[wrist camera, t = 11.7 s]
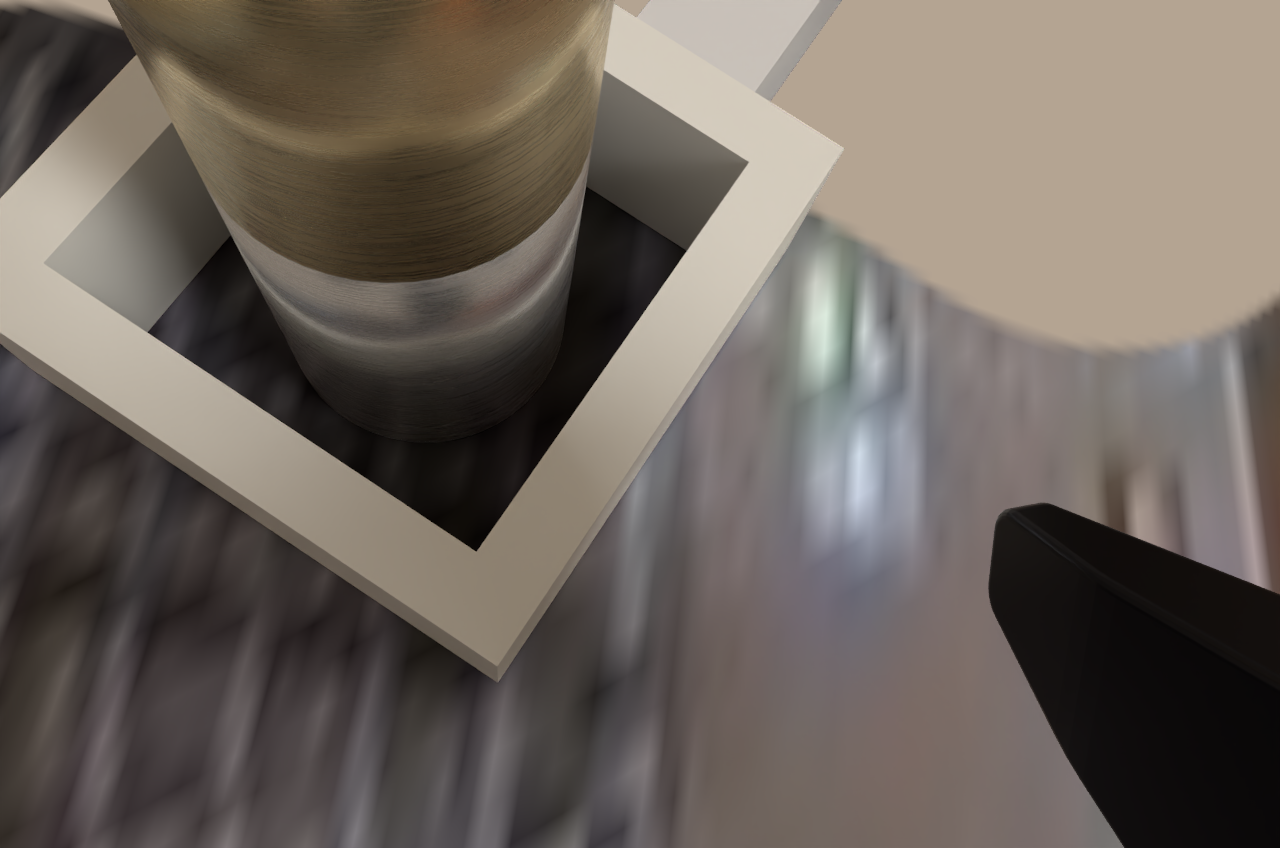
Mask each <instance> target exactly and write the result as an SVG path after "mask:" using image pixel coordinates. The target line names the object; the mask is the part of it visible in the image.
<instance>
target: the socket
mask: <svg viewBox="0 0 1280 848" xmlns="http://www.w3.org/2000/svg"><path fill="white" fill-rule="evenodd" d="M841 1H842V0H650V1H649V2H648V3H647V5H646V6H645V7H644V8H643V10H642V11H641V12H640V14H639V15H638V16H637V17H635V16H633V15H632V14H630V13H629V12H627V11H626V10H624V9H622V8H621V7H619V6H618V5H616V4H614V6H613V13H612V19H611V26H610V32H609V39H608V45H607V52H606V58H605V65H604V71H603V78H602V84H601V91H600V97H599V104H598V110H597V117H596V123H595V130H594V136H593V143H592V149H591V156H590V162H589V169H588V175H587V182H586V186H587V187H588V188H590V189H591V190H593V191H594V192H596V193H598V194H599V195H601V196H602V197H604V198H605V199H607V200H608V201H610V202H612V203H613V204H615V205H616V206H618V207H619V208H621V209H622V210H624V211H626V212H627V213H629V214H630V215H632V216H633V217H635V218H636V219H638V220H640V221H641V222H643V223H644V224H646V225H647V226H649V227H650V228H652V229H654V230H655V231H657V232H658V233H660V234H661V235H663V236H665V237H666V238H668V239H669V240H671V241H672V242H674V243H675V244H677V245H679V246H680V247H682V248H683V249H685V250H686V251H687V252H686V253H685V255H684V256H683V257H682V259H681V260H680V262H679V263H678V265H677V266H676V267H675V269H674V270H673V272H672V273H671V275H670V276H669V277H668V279H667V280H666V282H665V283H664V285H663V286H662V287H661V289H660V290H659V292H658V293H657V295H656V296H655V297H654V299H653V300H652V302H651V303H650V305H649V306H648V307H647V309H646V310H645V312H644V313H643V315H642V316H641V317H640V319H639V320H638V322H637V323H636V325H635V326H634V327H633V329H632V330H631V332H630V333H629V335H628V336H627V337H626V339H625V340H624V342H623V343H622V345H621V346H620V347H619V349H618V350H617V352H616V353H615V355H614V356H613V357H612V359H611V360H610V362H609V363H608V365H607V366H606V367H605V369H604V370H603V372H602V373H601V375H600V376H599V377H598V379H597V380H596V382H595V383H594V385H593V386H592V388H591V389H590V390H589V392H588V393H587V395H586V396H585V398H584V399H583V400H582V402H581V403H580V405H579V406H578V408H577V409H576V410H575V412H574V413H573V415H572V416H571V418H570V419H569V420H568V422H567V423H566V425H565V426H564V428H563V429H562V430H561V432H560V433H559V435H558V436H557V438H556V439H555V440H554V442H553V443H552V445H551V446H550V448H549V449H548V450H547V452H546V453H545V455H544V456H543V458H542V459H541V460H540V462H539V463H538V465H537V466H536V468H535V469H534V470H533V472H532V473H531V475H530V476H529V478H528V479H527V480H526V482H525V483H524V485H523V486H522V488H521V489H520V490H519V492H518V493H517V495H516V496H515V498H514V499H513V500H512V502H511V503H510V505H509V506H508V508H507V509H506V510H505V512H504V513H503V515H502V516H501V518H500V519H499V520H498V522H497V523H496V525H495V526H494V528H493V529H492V530H491V532H490V533H489V535H488V536H487V538H486V539H485V540H484V542H483V543H482V545H481V546H480V548H479V549H478V550H477V552H476V551H474V550H473V549H471V548H470V547H468V546H467V545H465V544H464V543H462V542H461V541H459V540H458V539H456V538H455V537H453V536H452V535H450V534H449V533H447V532H446V531H444V530H443V529H441V528H440V527H438V526H437V525H435V524H434V523H432V522H431V521H429V520H428V519H426V518H425V517H423V516H422V515H420V514H419V513H417V512H416V511H414V510H413V509H411V508H410V507H408V506H407V505H405V504H404V503H402V502H401V501H399V500H398V499H396V498H395V497H393V496H392V495H390V494H389V493H387V492H386V491H384V490H383V489H381V488H380V487H378V486H377V485H375V484H374V483H372V482H371V481H369V480H368V479H366V478H365V477H363V476H362V475H360V474H359V473H357V472H356V471H354V470H353V469H351V468H350V467H348V466H347V465H345V464H344V463H342V462H341V461H339V460H338V459H336V458H335V457H333V456H332V455H330V454H329V453H327V452H326V451H324V450H323V449H321V448H320V447H318V446H317V445H315V444H314V443H312V442H311V441H309V440H308V439H306V438H305V437H303V436H302V435H300V434H299V433H297V432H296V431H294V430H293V429H291V428H290V427H288V426H287V425H285V424H284V423H282V422H281V421H279V420H278V419H276V418H275V417H273V416H272V415H270V414H269V413H267V412H266V411H264V410H263V409H261V408H260V407H258V406H257V405H255V404H254V403H252V402H251V401H249V400H248V399H246V398H245V397H243V396H242V395H240V394H239V393H237V392H236V391H234V390H233V389H231V388H230V387H228V386H227V385H225V384H224V383H222V382H221V381H219V380H218V379H216V378H215V377H213V376H212V375H210V374H209V373H207V372H206V371H204V370H203V369H201V368H200V367H198V366H197V365H195V364H194V363H192V362H191V361H189V360H188V359H186V358H185V357H183V356H182V355H180V354H179V353H177V352H176V351H174V350H173V349H171V348H170V347H168V346H167V345H165V344H164V343H162V342H161V341H159V340H158V339H156V338H155V337H153V336H152V335H150V334H149V333H147V332H148V331H149V330H150V329H151V327H152V326H153V325H154V324H155V323H156V322H157V320H158V319H159V318H160V317H161V316H162V315H163V313H164V312H165V311H166V310H167V309H168V308H169V306H170V305H171V304H172V303H173V302H174V301H175V299H176V298H177V297H178V296H179V295H180V294H181V292H182V291H183V290H184V289H185V288H186V287H187V285H188V284H189V283H190V282H191V281H192V280H193V278H194V277H195V276H196V275H197V274H198V273H199V271H200V270H201V269H202V268H203V267H204V266H205V264H206V263H207V262H208V261H209V260H210V259H211V257H212V256H213V255H214V254H215V253H216V252H217V250H218V249H219V248H220V247H221V246H222V245H223V243H224V242H225V241H226V240H227V239H228V238H229V236H230V235H231V234H230V232H229V230H228V228H227V226H226V224H225V222H224V220H223V219H222V217H221V215H220V213H219V211H218V209H217V207H216V205H215V203H214V201H213V199H212V198H211V196H210V194H209V192H208V190H207V188H206V186H205V184H204V182H203V180H202V178H201V176H200V175H199V173H198V171H197V169H196V167H195V165H194V163H193V161H192V159H191V157H190V155H189V154H188V152H187V150H186V148H185V146H184V144H183V142H182V140H181V138H180V136H179V134H178V133H177V131H176V129H175V127H174V125H173V123H172V121H171V119H170V117H169V115H168V113H167V112H166V110H165V108H164V106H163V104H162V102H161V100H160V98H159V96H158V94H157V92H156V91H155V89H154V87H153V85H152V83H151V81H150V79H149V77H148V75H147V73H146V71H145V70H144V68H143V66H142V64H141V62H140V60H139V58H138V56H137V55H136V56H135V57H134V58H133V59H132V60H131V61H130V62H129V63H128V64H127V65H126V66H125V67H124V68H123V69H122V70H121V71H120V72H119V74H118V75H117V76H116V77H115V78H114V79H113V80H112V81H111V82H110V83H109V84H108V85H107V86H106V87H105V88H104V89H103V90H102V92H101V93H100V94H99V95H98V96H97V97H96V98H95V99H94V100H93V101H92V102H91V103H90V104H89V105H88V106H87V107H86V108H85V109H84V111H83V112H82V113H81V114H80V115H79V116H78V117H77V118H76V119H75V120H74V121H73V122H72V123H71V124H70V125H69V126H68V127H67V128H66V130H65V131H64V132H63V133H62V134H61V135H60V136H59V137H58V138H57V139H56V140H55V141H54V142H53V143H52V144H51V145H50V146H49V147H48V149H47V150H46V151H45V152H44V153H43V154H42V155H41V156H40V157H39V158H38V159H37V160H36V161H35V162H34V163H33V164H32V165H31V167H30V168H29V169H28V170H27V171H26V172H25V173H24V174H23V175H22V176H21V177H20V178H19V179H18V180H17V181H16V182H15V183H14V184H13V186H12V187H11V188H10V189H9V190H8V191H7V192H6V193H5V194H4V195H3V196H2V197H1V198H0V344H1V345H2V346H4V347H5V348H6V349H7V350H9V351H10V352H11V353H12V354H13V355H15V356H16V357H17V358H18V359H20V360H21V361H22V362H23V363H25V364H26V365H27V366H28V367H29V368H31V369H32V370H33V371H35V372H36V373H38V374H39V375H41V376H42V377H44V378H45V379H47V380H48V381H50V382H51V383H53V384H54V385H56V386H57V387H59V388H60V389H62V390H63V391H65V392H66V393H68V394H69V395H71V396H72V397H73V398H75V399H76V400H78V401H79V402H81V403H82V404H84V405H85V406H87V407H88V408H90V409H91V410H93V411H94V412H96V413H97V414H99V415H100V416H102V417H103V418H105V419H106V420H108V421H109V422H111V423H112V424H114V425H115V426H117V427H118V428H120V429H121V430H123V431H124V432H126V433H127V434H129V435H130V436H131V437H133V438H134V439H136V440H137V441H139V442H140V443H142V444H143V445H145V446H146V447H148V448H149V449H151V450H152V451H154V452H155V453H157V454H158V455H160V456H161V457H163V458H164V459H166V460H167V461H169V462H170V463H172V464H173V465H175V466H176V467H178V468H179V469H181V470H182V471H184V472H185V473H187V474H188V475H189V476H191V477H192V478H194V479H195V480H197V481H198V482H200V483H201V484H203V485H204V486H206V487H207V488H209V489H210V490H212V491H213V492H215V493H216V494H218V495H219V496H221V497H222V498H224V499H225V500H227V501H228V502H230V503H231V504H233V505H234V506H236V507H237V508H239V509H240V510H242V511H243V512H244V513H246V514H247V515H249V516H250V517H252V518H253V519H255V520H256V521H258V522H259V523H261V524H262V525H264V526H265V527H267V528H268V529H270V530H271V531H273V532H274V533H276V534H277V535H279V536H280V537H282V538H283V539H285V540H286V541H288V542H289V543H291V544H292V545H294V546H295V547H297V548H298V549H300V550H301V551H302V552H304V553H305V554H307V555H308V556H310V557H311V558H313V559H314V560H316V561H317V562H319V563H320V564H322V565H323V566H325V567H326V568H328V569H329V570H331V571H332V572H334V573H335V574H337V575H338V576H340V577H341V578H343V579H344V580H346V581H347V582H349V583H350V584H352V585H353V586H355V587H356V588H357V589H359V590H360V591H362V592H363V593H365V594H366V595H368V596H369V597H371V598H372V599H374V600H375V601H377V602H378V603H380V604H381V605H383V606H384V607H386V608H387V609H389V610H390V611H392V612H393V613H395V614H396V615H398V616H399V617H401V618H402V619H404V620H405V621H407V622H408V623H410V624H411V625H413V626H414V627H415V628H417V629H418V630H420V631H421V632H423V633H424V634H426V635H427V636H429V637H430V638H432V639H433V640H435V641H436V642H438V643H439V644H441V645H442V646H444V647H445V648H447V649H448V650H450V651H451V652H453V653H454V654H456V655H457V656H459V657H460V658H462V659H463V660H465V661H466V662H468V663H469V664H470V665H472V666H473V667H475V668H476V669H478V670H479V671H481V672H482V673H484V674H485V675H487V676H488V677H490V678H491V679H493V680H494V681H496V682H497V683H498V682H499V681H500V679H501V678H502V676H503V675H504V673H505V672H506V670H507V669H508V667H509V666H510V664H511V663H512V661H513V660H514V658H515V657H516V655H517V654H518V652H519V651H520V649H521V648H522V646H523V645H524V643H525V642H526V640H527V639H528V637H529V636H530V634H531V633H532V631H533V630H534V628H535V627H536V625H537V624H538V622H539V621H540V619H541V618H542V616H543V615H544V613H545V612H546V610H547V609H548V607H549V606H550V604H551V603H552V601H553V600H554V598H555V597H556V595H557V594H558V592H559V591H560V589H561V588H562V586H563V585H564V583H565V582H566V580H567V579H568V577H569V576H570V574H571V573H572V571H573V570H574V568H575V567H576V565H577V564H578V562H579V561H580V559H581V558H582V556H583V555H584V553H585V552H586V550H587V549H588V547H589V546H590V544H591V543H592V541H593V540H594V538H595V537H596V535H597V534H598V532H599V531H600V529H601V528H602V526H603V525H604V523H605V522H606V520H607V519H608V517H609V516H610V514H611V513H612V511H613V510H614V508H615V507H616V505H617V504H618V502H619V501H620V499H621V498H622V496H623V495H624V493H625V492H626V490H627V489H628V487H629V486H630V484H631V483H632V481H633V480H634V478H635V477H636V475H637V474H638V472H639V471H640V469H641V468H642V466H643V465H644V463H645V462H646V460H647V459H648V457H649V456H650V454H651V453H652V451H653V450H654V448H655V447H656V445H657V444H658V442H659V441H660V439H661V438H662V436H663V435H664V433H665V432H666V430H667V429H668V427H669V426H670V424H671V423H672V421H673V420H674V418H675V417H676V415H677V414H678V412H679V411H680V409H681V408H682V406H683V405H684V403H685V402H686V400H687V399H688V397H689V396H690V394H691V393H692V391H693V390H694V388H695V387H696V385H697V384H698V382H699V381H700V379H701V378H702V376H703V375H704V373H705V372H706V370H707V369H708V367H709V366H710V364H711V363H712V361H713V360H714V358H715V357H716V355H717V354H718V352H719V351H720V349H721V348H722V346H723V345H724V343H725V342H726V340H727V339H728V337H729V336H730V334H731V333H732V331H733V330H734V328H735V327H736V325H737V324H738V322H739V321H740V319H741V318H742V316H743V315H744V313H745V312H746V310H747V309H748V307H749V306H750V304H751V303H752V301H753V300H754V298H755V297H756V295H757V294H758V292H759V291H760V289H761V288H762V286H763V285H764V283H765V282H766V280H767V279H768V277H769V276H770V274H771V273H772V271H773V270H774V268H775V267H776V265H777V264H778V262H779V261H780V259H781V258H782V256H783V255H784V253H785V252H786V250H787V248H788V246H789V245H790V243H791V241H792V239H793V238H794V236H795V234H796V232H797V231H798V229H799V227H800V225H801V224H802V222H803V220H804V218H805V217H806V215H807V213H808V211H809V210H810V208H811V206H812V204H813V203H814V201H815V199H816V197H817V196H818V194H819V192H820V190H821V189H822V187H823V185H824V183H825V182H826V180H827V178H828V176H829V174H830V173H831V171H832V169H833V168H834V166H835V164H836V162H837V161H838V159H839V157H840V155H841V154H842V152H843V150H844V148H843V147H841V146H840V145H838V144H836V143H835V142H833V141H832V140H830V139H829V138H827V137H825V136H824V135H822V134H821V133H819V132H817V131H816V130H814V129H812V128H811V127H810V126H808V125H806V124H805V123H803V122H801V121H800V120H798V119H797V118H795V117H794V116H792V115H790V114H789V113H787V112H786V111H784V110H783V109H781V108H779V107H778V106H776V105H775V104H773V103H771V102H770V101H771V100H772V98H773V97H774V96H775V94H776V92H777V91H778V90H779V89H780V87H781V86H782V84H783V83H784V81H785V80H786V79H787V77H788V76H789V74H790V73H791V72H792V70H793V69H794V67H795V66H796V64H797V63H798V62H799V60H800V59H801V57H802V56H803V55H804V53H805V52H806V50H807V49H808V48H809V46H810V45H811V43H812V42H813V40H814V39H815V38H816V36H817V35H818V33H819V32H820V31H821V29H822V28H823V26H824V25H825V23H826V22H827V21H828V19H829V18H830V16H831V15H832V14H833V12H834V11H835V9H836V8H837V6H838V5H839V4H840V2H841Z"/></svg>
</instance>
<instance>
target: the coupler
mask: <svg viewBox="0 0 1280 848" xmlns="http://www.w3.org/2000/svg"><path fill="white" fill-rule="evenodd" d="M108 1H109V2H110V5H111V7H112V8H113V10H114V12H115V14H116V16H117V18H118V20H119V22H120V24H121V26H122V28H123V29H124V31H125V33H126V35H127V37H128V39H129V41H130V43H131V45H132V47H133V49H134V50H135V52H136V54H137V56H138V58H139V60H140V62H141V64H142V66H143V68H144V70H145V71H146V73H147V75H148V77H149V79H150V81H151V83H152V85H153V87H154V89H155V91H156V92H157V94H158V96H159V98H160V100H161V102H162V104H163V106H164V108H165V110H166V112H167V113H168V115H169V117H170V119H171V121H172V123H173V125H174V127H175V129H176V131H177V133H178V134H179V136H180V138H181V140H182V142H183V144H184V146H185V148H186V150H187V152H188V154H189V155H190V157H191V159H192V161H193V163H194V165H195V167H196V169H197V171H198V173H199V175H200V176H201V178H202V180H203V182H204V184H205V186H206V188H207V190H208V192H209V194H210V196H211V198H212V199H213V201H214V203H215V205H216V207H217V209H218V211H219V213H220V215H221V217H222V219H223V220H224V222H225V224H226V226H227V228H228V230H229V232H230V234H231V236H232V238H233V240H234V241H235V243H236V245H237V247H238V249H239V251H240V253H241V255H242V257H243V259H244V261H245V262H246V264H247V266H248V268H249V270H250V272H251V274H252V276H253V278H254V280H255V282H256V283H257V285H258V287H259V289H260V291H261V293H262V295H263V297H264V299H265V301H266V303H267V304H268V306H269V308H270V310H271V312H272V314H273V316H274V318H275V320H276V322H277V324H278V325H279V327H280V329H281V331H282V333H283V335H284V337H285V339H286V341H287V343H288V345H289V346H290V348H291V350H292V352H293V354H294V356H295V358H296V360H297V362H298V364H299V366H300V367H301V369H302V371H303V373H304V375H305V376H306V378H307V379H308V381H309V383H310V384H311V386H312V387H313V389H314V390H315V391H316V392H317V393H318V394H319V395H320V397H321V398H322V399H323V400H324V401H325V402H326V403H327V404H328V405H329V406H330V407H332V408H333V409H334V410H335V411H336V412H337V413H338V414H340V415H341V416H343V417H344V418H346V419H347V420H349V421H350V422H352V423H353V424H355V425H357V426H360V427H362V428H364V429H366V430H368V431H370V432H373V433H375V434H378V435H381V436H384V437H387V438H392V439H397V440H402V441H409V442H422V443H428V442H444V441H450V440H456V439H461V438H464V437H468V436H471V435H474V434H477V433H480V432H482V431H484V430H487V429H489V428H491V427H493V426H495V425H497V424H499V423H500V422H502V421H503V420H505V419H507V418H508V417H510V416H511V415H513V414H514V413H515V412H516V411H517V410H519V409H520V408H521V407H522V406H524V405H525V404H526V403H527V402H528V400H529V399H530V398H531V397H532V396H533V395H534V394H535V393H536V392H537V391H538V389H539V388H540V386H541V385H542V384H543V382H544V381H545V379H546V378H547V376H548V374H549V372H550V370H551V369H552V367H553V365H554V363H555V360H556V357H557V354H558V352H559V349H560V345H561V341H562V336H563V331H564V325H565V318H566V312H567V305H568V299H569V292H570V286H571V279H572V273H573V266H574V260H575V253H576V247H577V240H578V234H579V227H580V221H581V214H582V208H583V201H584V195H585V188H586V182H587V175H588V169H589V162H590V156H591V149H592V143H593V136H594V130H595V123H596V117H597V110H598V104H599V97H600V91H601V84H602V78H603V71H604V65H605V58H606V52H607V45H608V39H609V32H610V26H611V19H612V13H613V6H614V0H108Z"/></svg>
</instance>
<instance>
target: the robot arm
mask: <svg viewBox="0 0 1280 848" xmlns="http://www.w3.org/2000/svg"><path fill="white" fill-rule="evenodd" d="M988 589H989V598H990V603H991V607H992V610H993V612H994V615H995V617H996V619H997V621H998V623H999V625H1000V627H1001V629H1002V631H1003V633H1004V635H1005V637H1006V639H1007V641H1008V643H1009V645H1010V647H1011V649H1012V651H1013V653H1014V655H1015V657H1016V659H1017V661H1018V663H1019V665H1020V667H1021V669H1022V671H1023V673H1024V675H1025V677H1026V679H1027V681H1028V683H1029V685H1030V687H1031V689H1032V691H1033V693H1034V695H1035V697H1036V699H1037V701H1038V703H1039V705H1040V707H1041V709H1042V711H1043V713H1044V715H1045V717H1046V719H1047V721H1048V723H1049V725H1050V727H1051V729H1052V731H1053V733H1054V735H1055V736H1056V738H1057V740H1058V742H1059V744H1060V746H1061V748H1062V749H1063V751H1064V753H1065V755H1066V757H1067V759H1068V760H1069V762H1070V763H1071V765H1072V767H1073V768H1074V770H1075V772H1076V773H1077V775H1078V776H1079V778H1080V780H1081V781H1082V783H1083V784H1084V786H1085V788H1086V789H1087V791H1088V792H1089V794H1090V795H1091V797H1092V798H1093V800H1094V802H1095V803H1096V805H1097V806H1098V808H1099V809H1100V811H1101V812H1102V814H1103V815H1104V817H1105V819H1106V820H1107V822H1108V823H1109V825H1110V826H1111V828H1112V829H1113V831H1114V832H1115V834H1116V836H1117V837H1118V839H1119V840H1120V842H1121V843H1122V845H1123V846H1124V848H1280V594H1277V593H1275V592H1272V591H1270V590H1267V589H1265V588H1262V587H1259V586H1257V585H1254V584H1252V583H1249V582H1247V581H1244V580H1242V579H1239V578H1237V577H1234V576H1232V575H1229V574H1227V573H1224V572H1221V571H1219V570H1216V569H1214V568H1211V567H1209V566H1206V565H1204V564H1201V563H1199V562H1196V561H1194V560H1191V559H1189V558H1186V557H1184V556H1181V555H1178V554H1176V553H1173V552H1171V551H1168V550H1166V549H1163V548H1161V547H1158V546H1156V545H1153V544H1151V543H1148V542H1146V541H1143V540H1140V539H1138V538H1135V537H1133V536H1130V535H1128V534H1125V533H1123V532H1120V531H1118V530H1115V529H1113V528H1110V527H1108V526H1105V525H1103V524H1100V523H1097V522H1095V521H1092V520H1090V519H1087V518H1085V517H1082V516H1080V515H1077V514H1075V513H1072V512H1070V511H1067V510H1065V509H1062V508H1060V507H1057V506H1054V505H1052V504H1049V503H1037V504H1031V505H1026V506H1021V507H1015V508H1010V509H1006V510H1004V511H1003V512H1002V513H1001V514H1000V515H999V516H998V519H997V521H996V525H995V531H994V539H993V548H992V557H991V566H990V575H989V587H988Z"/></svg>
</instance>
